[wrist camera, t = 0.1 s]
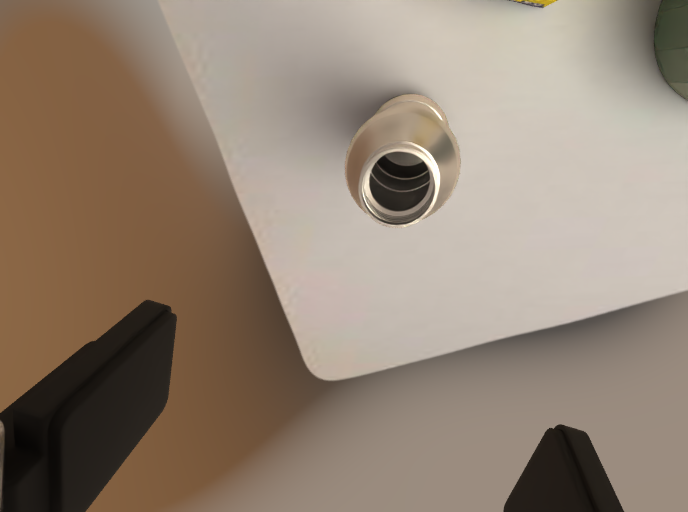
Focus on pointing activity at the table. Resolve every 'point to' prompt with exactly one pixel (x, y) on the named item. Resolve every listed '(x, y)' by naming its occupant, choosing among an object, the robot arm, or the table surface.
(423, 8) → the table surface
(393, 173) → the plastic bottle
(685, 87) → the canister
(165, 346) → the robot arm
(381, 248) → the table surface
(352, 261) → the table surface
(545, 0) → the supplement box
